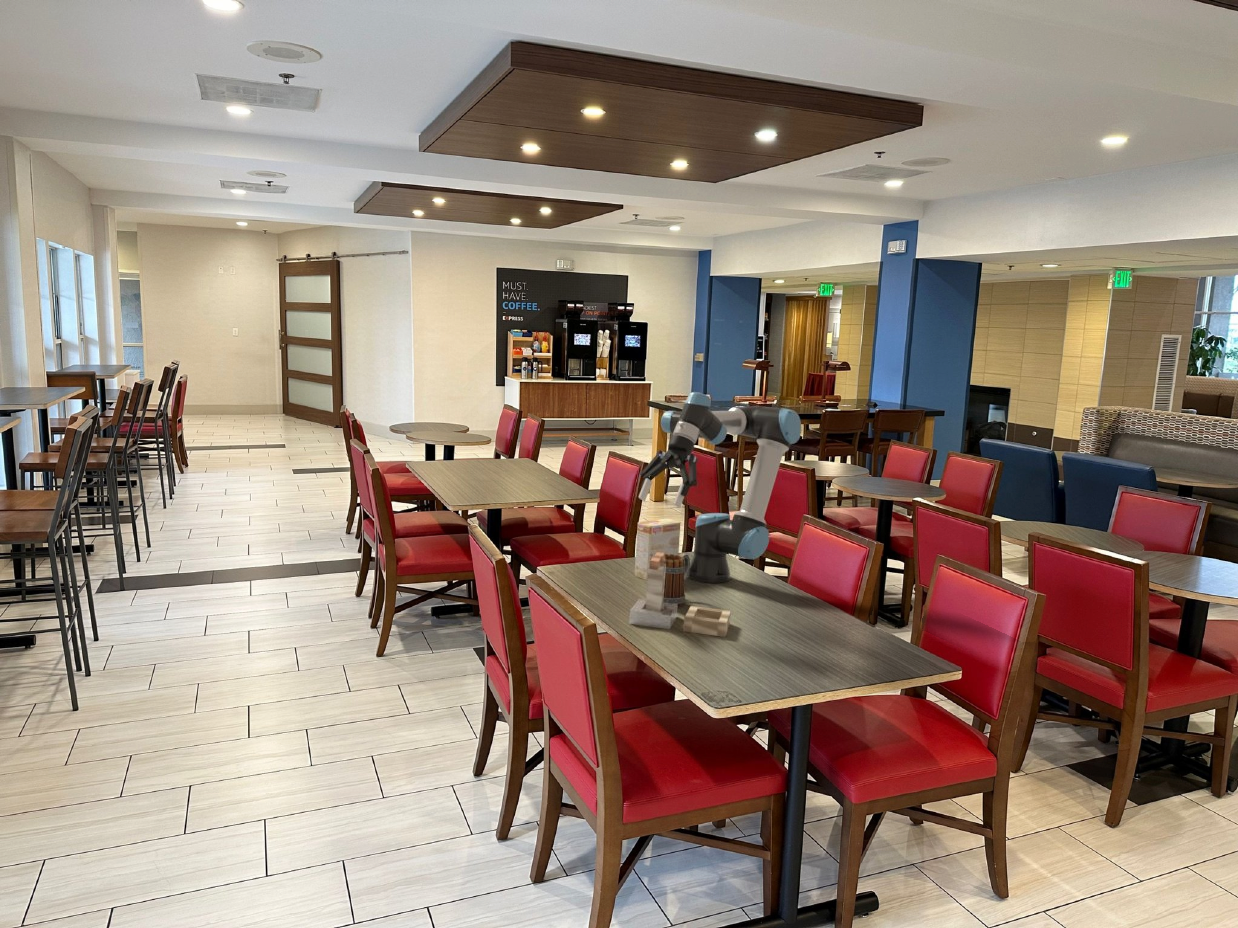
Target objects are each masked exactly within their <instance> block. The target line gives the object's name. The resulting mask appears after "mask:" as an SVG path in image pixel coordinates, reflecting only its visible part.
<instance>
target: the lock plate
mask: <svg viewBox="0 0 1238 928" xmlns="http://www.w3.org/2000/svg"><path fill="white" fill-rule="evenodd" d="M678 608H679V607H678V604H673V603H666V602H663V612H661V611H653V610H646V599H642V598H641V599H640V598H638V599H637V600H636V602H635V604H634V605H633V606H632V607H631V608H630V610H629V619H628V620H629V621H628V623H629V625H635V626H644V627H651V628H659V629H666V630H670V629H671V627H672V626H673V624H674V622H675V621H676V619H677V617H678Z"/></svg>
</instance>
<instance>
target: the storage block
mask: <svg viewBox="0 0 1238 928" xmlns="http://www.w3.org/2000/svg"><path fill="white" fill-rule="evenodd" d="M731 614H732V612H731V610H727V609H726V610H725V609H719V608H710V607H703V606H696V605H690V607H689V609H688V610H687V612H686V614H685V616H684V619H683V620H684V621H683V632H688V633H692V634H693V633H695V634H703V635H709V636H717V637H723V638H725V637H726V636H727V632H728V631H729V627H730V624H731Z"/></svg>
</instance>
